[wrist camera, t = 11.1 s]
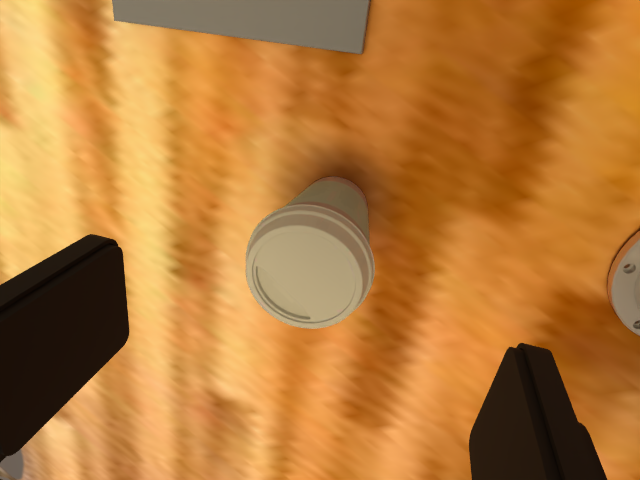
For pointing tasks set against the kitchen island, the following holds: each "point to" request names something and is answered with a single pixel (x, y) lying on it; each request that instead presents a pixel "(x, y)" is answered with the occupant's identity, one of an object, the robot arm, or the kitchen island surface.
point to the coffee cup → (313, 256)
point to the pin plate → (259, 19)
